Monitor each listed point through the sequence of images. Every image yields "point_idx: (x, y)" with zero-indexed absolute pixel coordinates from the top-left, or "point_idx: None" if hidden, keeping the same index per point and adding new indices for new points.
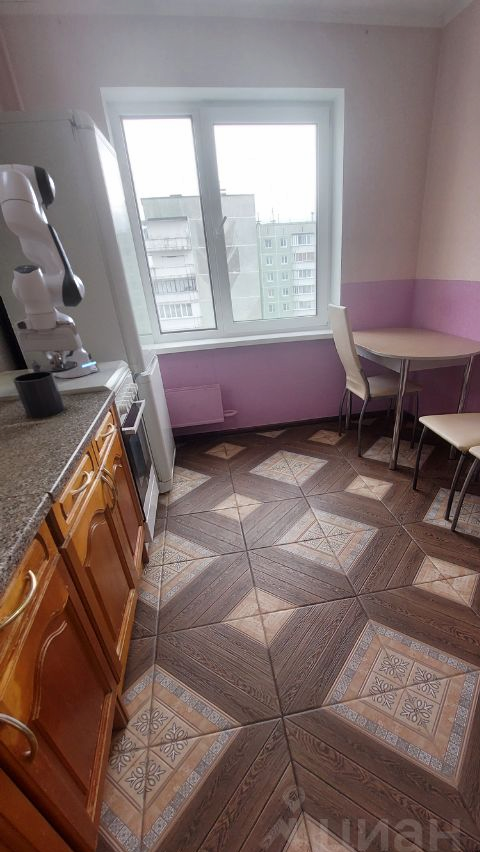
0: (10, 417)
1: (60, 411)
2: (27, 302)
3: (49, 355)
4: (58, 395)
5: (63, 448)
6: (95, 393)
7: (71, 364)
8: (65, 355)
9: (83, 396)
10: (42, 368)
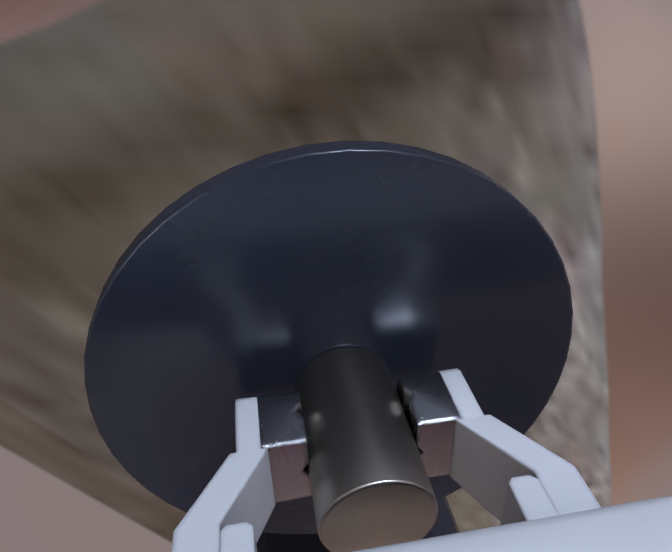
0: (136, 513)
1: None
2: None
3: (246, 504)
4: (450, 510)
5: None
6: (482, 73)
7: (497, 318)
8: (524, 444)
9: None
10: (193, 488)
